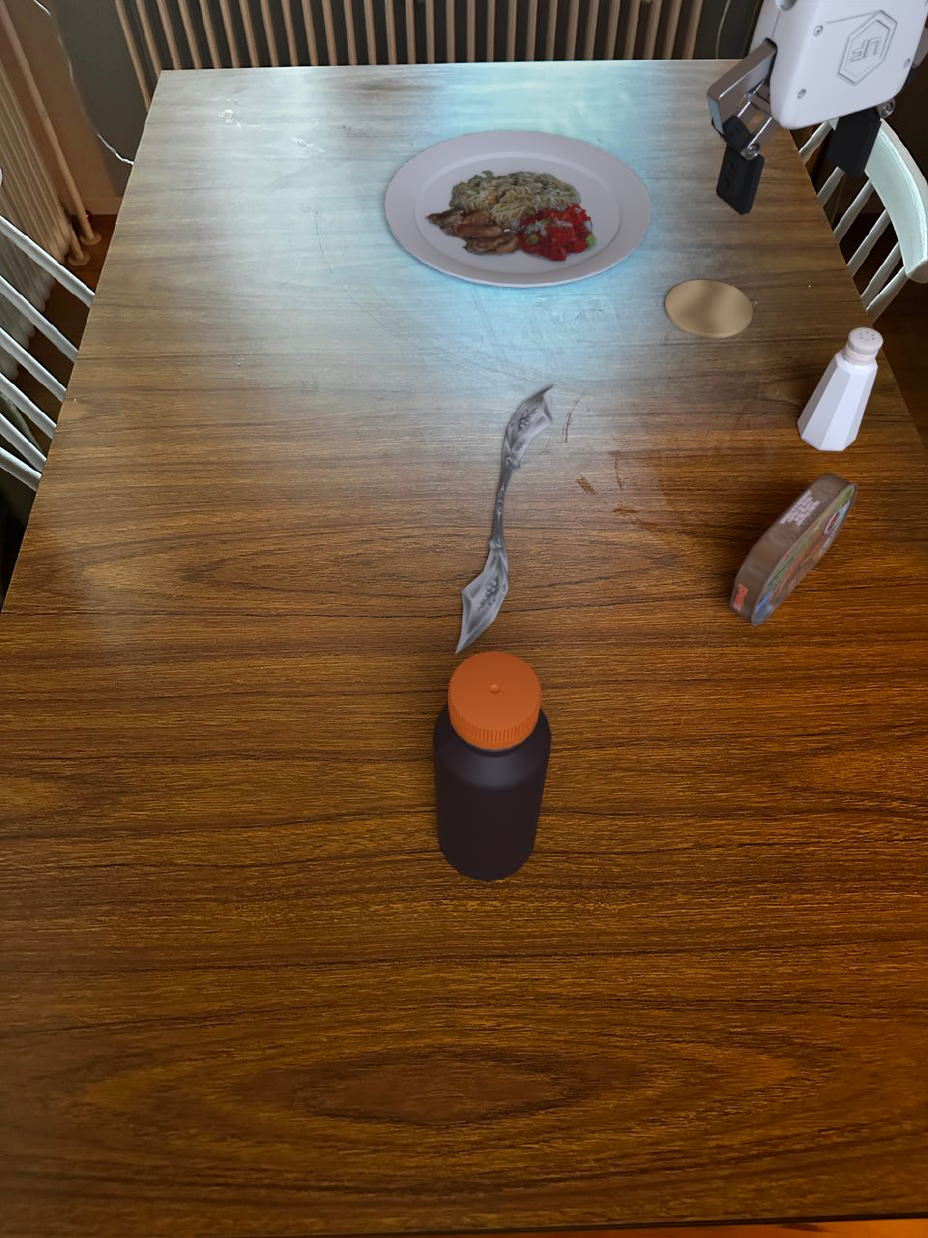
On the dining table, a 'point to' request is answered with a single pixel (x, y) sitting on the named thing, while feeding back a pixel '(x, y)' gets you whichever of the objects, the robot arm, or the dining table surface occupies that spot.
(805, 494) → the tin
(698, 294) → the cork coaster
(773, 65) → the robot arm
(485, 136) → the plated food
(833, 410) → the pepper shaker
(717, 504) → the dining table surface
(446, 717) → the bottle
